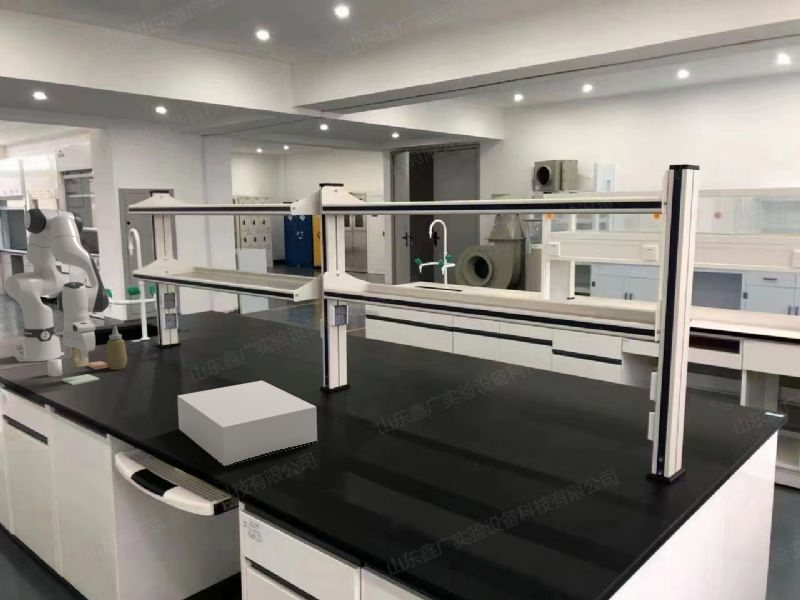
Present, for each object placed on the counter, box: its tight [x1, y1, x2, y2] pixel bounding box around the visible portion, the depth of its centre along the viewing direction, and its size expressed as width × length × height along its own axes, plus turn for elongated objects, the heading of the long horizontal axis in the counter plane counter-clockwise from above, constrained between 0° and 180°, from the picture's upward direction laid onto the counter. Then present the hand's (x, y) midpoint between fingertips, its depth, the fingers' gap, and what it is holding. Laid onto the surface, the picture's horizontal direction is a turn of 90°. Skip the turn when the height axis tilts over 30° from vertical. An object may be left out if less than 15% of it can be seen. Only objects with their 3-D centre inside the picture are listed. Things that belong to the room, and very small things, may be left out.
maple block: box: [69, 347, 90, 368], centre depth 239 cm, size 4×4×7 cm
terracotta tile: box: [88, 360, 109, 370], centre depth 261 cm, size 7×5×2 cm
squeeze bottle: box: [106, 325, 128, 371], centre depth 257 cm, size 8×8×18 cm
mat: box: [61, 373, 100, 386], centre depth 240 cm, size 10×10×1 cm
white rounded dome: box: [46, 358, 63, 378], centre depth 248 cm, size 5×5×6 cm
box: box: [177, 380, 318, 467], centre depth 180 cm, size 28×35×11 cm
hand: (79, 359), depth 239 cm, fingers closed on maple block, 4 cm apart
